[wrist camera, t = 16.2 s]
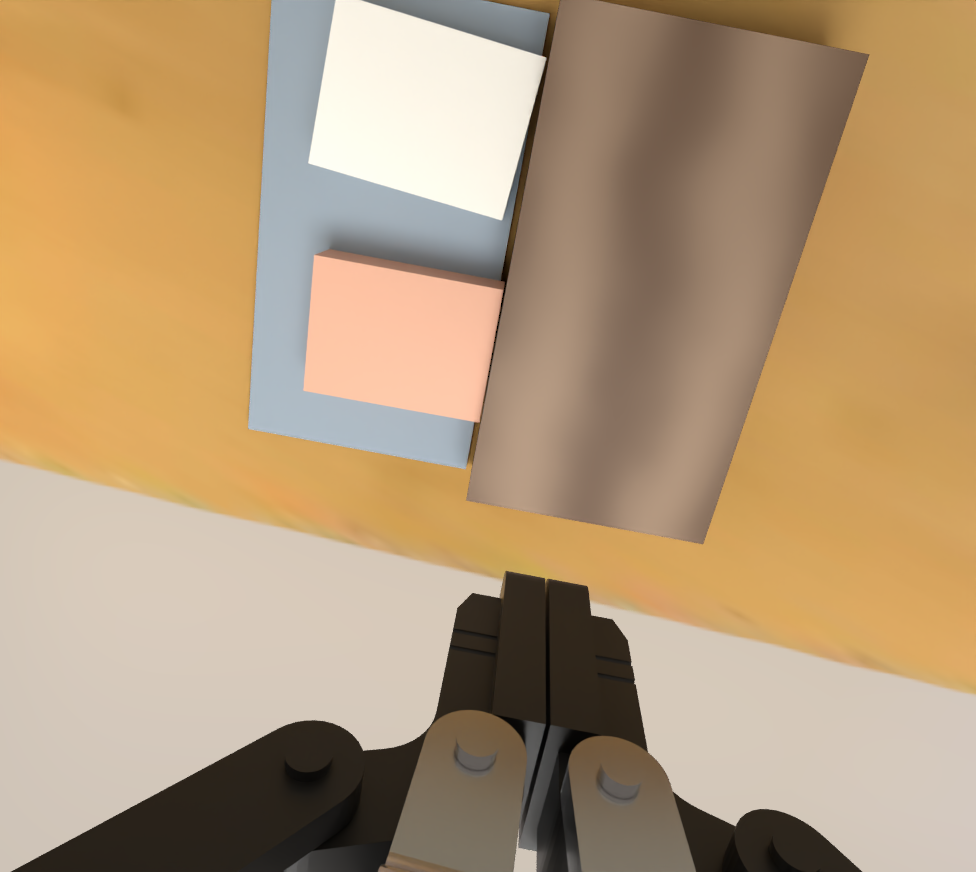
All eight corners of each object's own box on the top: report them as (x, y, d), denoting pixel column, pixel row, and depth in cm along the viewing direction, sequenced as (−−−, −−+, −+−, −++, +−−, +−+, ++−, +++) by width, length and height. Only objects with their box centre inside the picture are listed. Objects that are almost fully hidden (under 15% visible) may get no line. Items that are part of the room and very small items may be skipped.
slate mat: (549, 16, 27) (549, 13, 27) (466, 464, 35) (465, 469, 34) (279, -37, 27) (273, -41, 27) (252, 424, 34) (248, 428, 34)
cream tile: (544, 67, 27) (546, 57, 25) (503, 217, 30) (501, 220, 27) (352, 7, 27) (336, -8, 25) (324, 164, 29) (308, 163, 27)
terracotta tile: (505, 281, 31) (503, 289, 28) (482, 405, 33) (479, 422, 30) (329, 249, 30) (314, 255, 28) (318, 376, 33) (303, 390, 30)
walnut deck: (822, 70, 28) (869, 54, 24) (683, 504, 35) (703, 544, 31) (556, 18, 27) (561, -7, 24) (472, 465, 35) (466, 500, 31)
